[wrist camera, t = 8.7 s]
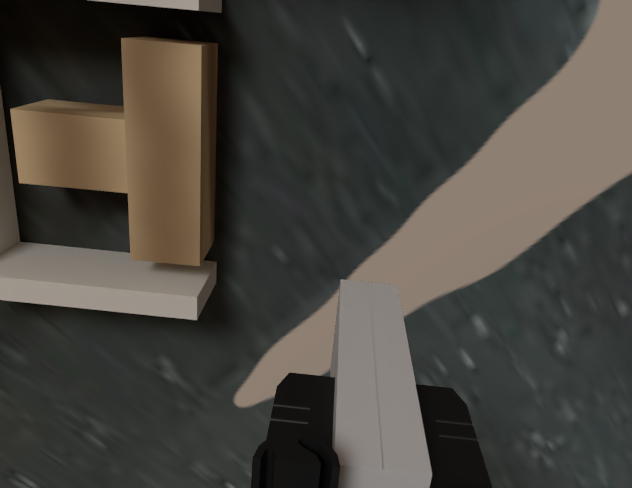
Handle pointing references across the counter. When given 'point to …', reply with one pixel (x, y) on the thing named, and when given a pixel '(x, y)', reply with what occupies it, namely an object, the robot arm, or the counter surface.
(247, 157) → the counter surface
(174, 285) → the bay
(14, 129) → the tee
